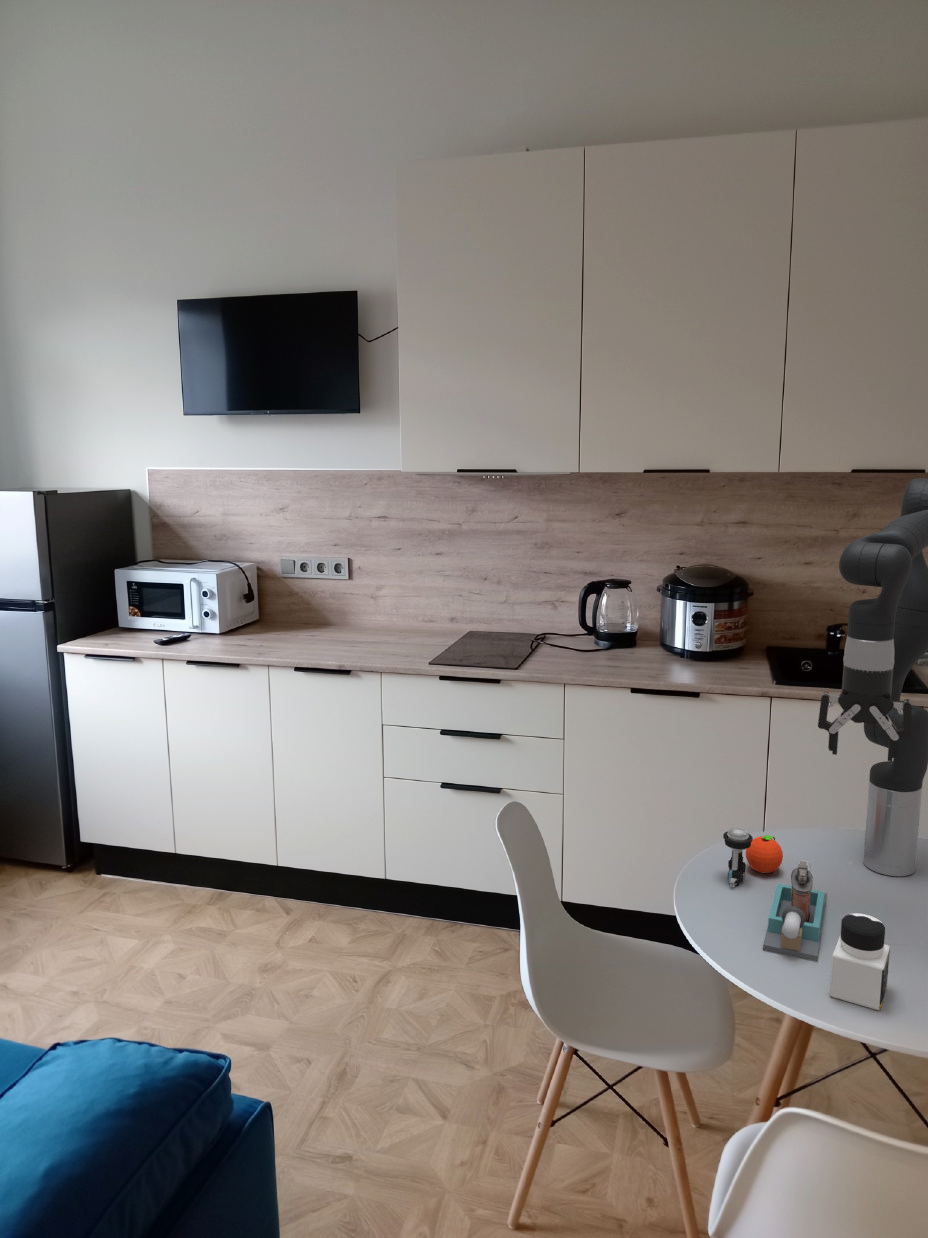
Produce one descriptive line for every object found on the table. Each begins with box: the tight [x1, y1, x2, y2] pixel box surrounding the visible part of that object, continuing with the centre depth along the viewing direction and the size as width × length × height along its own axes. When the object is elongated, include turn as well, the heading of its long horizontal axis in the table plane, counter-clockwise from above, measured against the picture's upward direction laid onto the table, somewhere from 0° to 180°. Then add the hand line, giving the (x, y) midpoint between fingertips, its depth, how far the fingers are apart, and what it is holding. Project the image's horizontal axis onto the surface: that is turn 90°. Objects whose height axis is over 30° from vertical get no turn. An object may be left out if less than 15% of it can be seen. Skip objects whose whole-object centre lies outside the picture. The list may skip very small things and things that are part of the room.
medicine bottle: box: [829, 912, 891, 1011], centre depth 136 cm, size 7×7×12 cm
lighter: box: [791, 860, 813, 923], centre depth 155 cm, size 8×3×10 cm, turn 159°
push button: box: [722, 827, 754, 888], centre depth 170 cm, size 7×5×10 cm
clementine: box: [745, 834, 784, 874], centre depth 175 cm, size 8×7×7 cm
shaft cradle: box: [762, 859, 828, 962], centre depth 156 cm, size 24×8×7 cm, turn 155°
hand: (861, 756), depth 151 cm, fingers open, 8 cm apart
